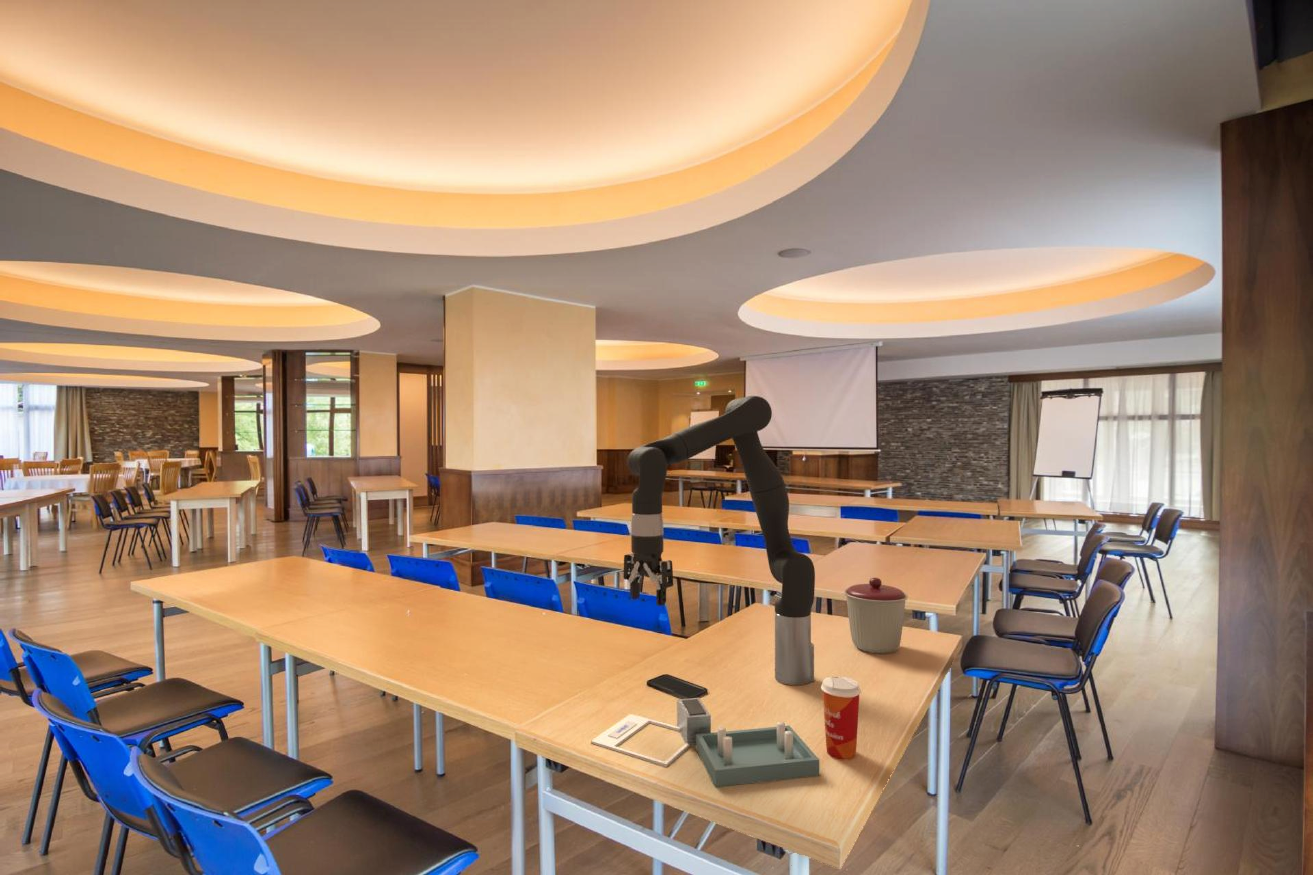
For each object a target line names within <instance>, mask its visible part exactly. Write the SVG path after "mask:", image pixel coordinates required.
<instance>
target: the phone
mask: <svg viewBox="0 0 1313 875" xmlns="http://www.w3.org/2000/svg"><path fill="white" fill-rule="evenodd" d="M646 686H648V687H649V688H653V689H655V690H658V691H660V692H663V693H665V694H668V695H670V696H673V697H675V698H678V699H691V698H700V697H702V696H705V695H707V694H708V692H709V691H708V688H706V687H704V686H702V685H699V684H696V683H693V682H690V681H688V680H684V679H682V678H679V677H676V676H674V675H671V674H668V673H666V674H665V673H664V674H661V675H658V676H656V677H653V678H651V679H648V680H646Z"/></svg>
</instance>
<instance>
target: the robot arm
mask: <svg viewBox="0 0 1313 875" xmlns="http://www.w3.org/2000/svg"><path fill="white" fill-rule="evenodd" d="M772 411H773V410H772V407H771V405H770V403H769V401H767V400H766V398H763V397H762V396H758V395H749V396H744V397H738V398H734V399H733V400H732V399H731V400H730V401H729V402H728V403H727V405H726V407H725V411H724V414H722V415H720V416H717V417H715V418H711V419H708V420H705V421H702V422H699V423H697V424H693V425H691V426H688V427H685V428H683V429H680V430H678V431H676V432H674V433H672V434H670V435H667V436H665V437H664V438H662V439H658V440H655V441H652V442H649V443H648V442H647V443H646V444H643V445H640V446H638V447H636V448H634V449H633V450H632V451H631V452H630V453H629V455H628V456H627V460H626V461H627V462H626V463H627V464H626V465H627V469H628V470H629V471H630V473H631V474H633V475H634V476H637V477H639V479H638V487H636V488H635V489H633V492H632V496H631V503H632V505H631V510H632V511H631V523H630V525H631V526H630V527H631V529H630V530H631V531H630V532H631V533H630V534H631V535H630V540H631V541H630V543H631V544H630V547H631V549H630V550H631V553H627V554H624V556H623V573H622V574H623V580H627V581H628V583H629V592H630V593H629V595H630V599H631V600H638V599H640V598H641V595H640V592H641V591H640V588H641V585H640V584H641V583H640V582H639V581H640V580H641V579H642V577H643V576H644V577H646V578H650V581H651V582H653V583H654V585H655V587H656V590H655V592H656V597H655V598H656V601H655V602H656V606H657V607H662V606H665V604H666V603H667V589H668V588H672V587H673V586H674V574H673V570H674V569H673V561H672V560H671V559H669V560H663V559H662V554H663V552H664V518H663V497H662V496H663V492H664V488H665V483H666V478H667V473H668V472H667V471H668V465H675V464H679V463H680V464H681V463H682V462H685V461H686V460H689V459H691V458H693V457H695V456H698V455H699V454H701V453H703V452H706V451H707V450H709V449H711V448H714V447H715V446H717V445H720V444H722V443H724V442H727V441H728V440H732V441H733V443H734V446H735V449H736V451H737V454H738V456H739V459H740V463H741V466H742V469H743V472H744V475H745V476H744V477H745V478H746V482H747V486H748V487H747V488H748V490H749V494H750V497H751V500H752V504H753V507H754V510H755V514H756V517H757V520H758V523H759V524H758V525H759V526H760V530H761V533H762V536H763V540H764V545H765V551H766V555H767V561H768V567H769V571H770V573H771V576H772V577H773V579H775V580H776V581H777V582H778V583H779V584H781V585H782V586H781V595H780V596H781V597H780V598H778V599H777V600H775V602H774V679H775V680H776V681H777V682H779V683H782V684H786V685H789V686H790V685H791V686H803V685H808V684H809V683H812V682H813V683H814V682H815V645H814V643H812V618H811V617H812V607H813V605H814V602H815V584H816V571H815V565H814V562H813V561H812V559H811V558H810V557H809V556H808V555H806V554H804V553H802V552H799V551H797V550H796V548H795V547H794V544H793V541H792V538H791V535H790V531H789V515H790V514H789V513H790V499H789V494H788V491H787V490H788V489H787V488H786V484H785V481H784V480H785V479H784V477H783V475H782V474H781V471H779V468H778V467H777V466H776V465H775V463H774V462H773V460H772V459H771V458H770V457H769V455H768V454H767V452H766V451H765V449H764V447H763V445H762V443H761V439H760V437H759V433H758V432H760V431H761V430H763V429H765V428H766V427H767V426H768V425H769V424H770V422H771V420H772V415H773V414H772Z"/></svg>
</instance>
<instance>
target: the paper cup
mask: <svg viewBox="0 0 1313 875" xmlns="http://www.w3.org/2000/svg"><path fill="white" fill-rule="evenodd" d="M820 689H821V690H822V700H823V718H824V731H825V732H824V733H825V734H824V735H825V746H826V747H825V748H826V753H827V755H829V756H830V757H831V758H834V759H837V760H839V761H840V760H841V761H850V760H853V759H854V758H855V757H856V756H857V754H856V753H857V745H858V744H857V742H858V741H857V740H858V724H859V707H860V695H861V694H862V689H861V688H860V684H859V682H857V681H856V680H854V679H852V678H849V677H845V676H832V677H831V676H829V677H826V678H824V679H823V681H822V684H821V686H820Z"/></svg>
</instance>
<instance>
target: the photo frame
mask: <svg viewBox="0 0 1313 875" xmlns="http://www.w3.org/2000/svg"><path fill="white" fill-rule="evenodd" d="M648 724H652V725H655V726H659V727H662V728H666V729H670V730H672V731H673V730H674V731H676V732H679V727H677V725H673V724H668V723H665V722H661V721H658V720H655V719H654V720H653V719H652V718H651V719H650V718H646V717H644V716H639V715H636V714H632V713H630V714H628V715H627V716H625V717H623V718H622V719H621V720H619V721H618V722H617V723H615V724H613V725H611V727H610V728H607V730H605V731H603V732H602V733H600V734H599V735H597V736H596V737H594V738H593V739H592V740H590V743H591V744H593V745H596V746H598V747H602V748H605V749H609V750H610V751H611V750H612V751H615V752H617V753H620V754H624V755H626V756H631V757H634V758H637V759H641V760H644V761H647V762H649V763H652V764H655V765H659V766H662V767H665V768H667V767H668V766H669V765H670V764H671V763H673V762H674V761H675V760H676V759H677V758H678V757H679V756H681V755H682V754H683V753H684V752H685V751H686V750H687V749H688V748H690V747H691V746H690V744H687V743H685V744H683V746H681V747H680V748H679V749H678V750H676V752H674V753H673V754H672V755H671V756H670V757H669V758H668V759H666V760H665V761H664V760H660V759H658V758H654V757H651V756H648V755H644V754H641V753H637V752H635V751H631V750H628V749H624V748H621V747H618V746H620V745H621V744H623V743H624V742H625V741H626V740H628V739H629V738H631V736H633V735H635V734H636V733H638V732H639V731H640V730H641V729H643V728H644V727H647V725H648Z"/></svg>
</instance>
